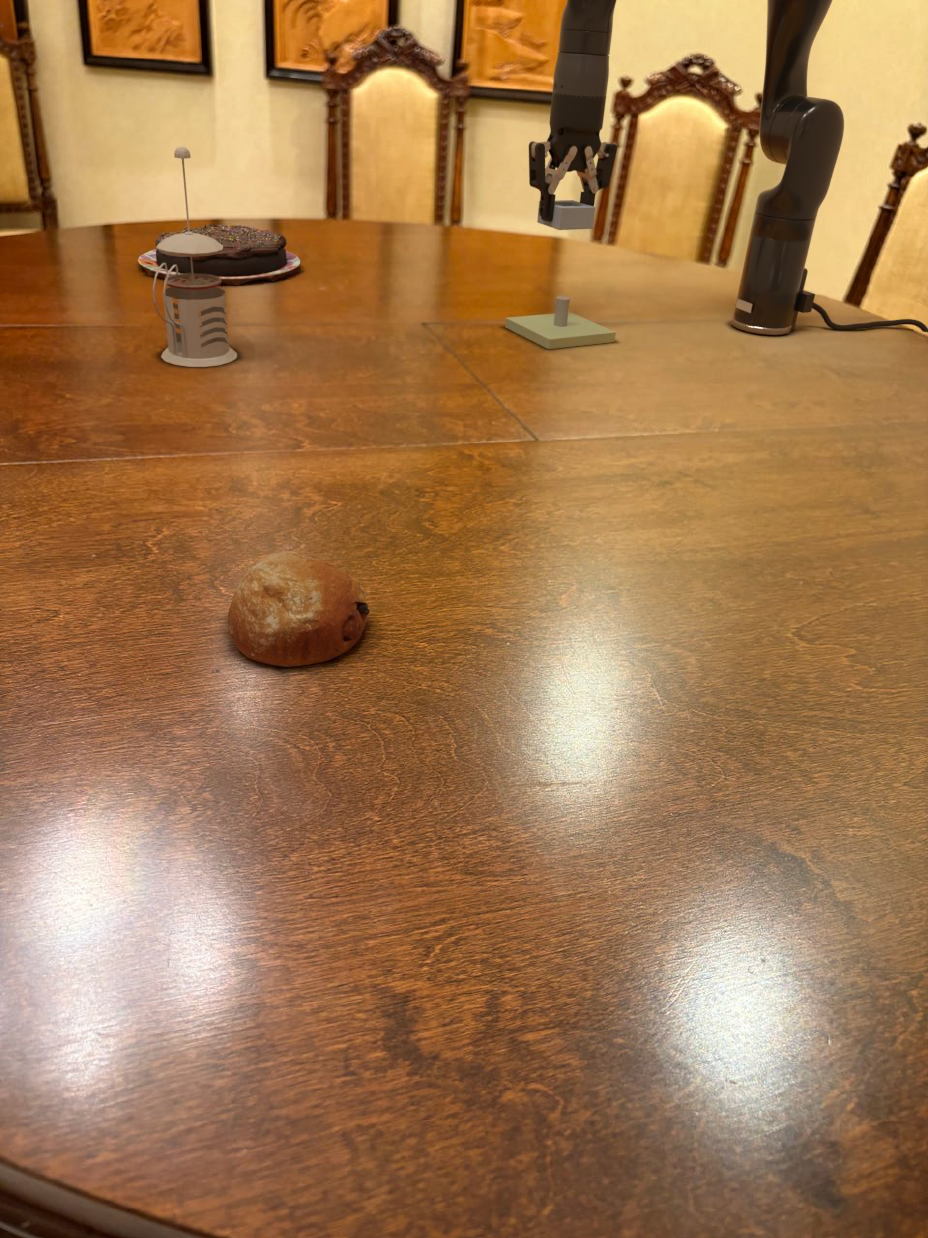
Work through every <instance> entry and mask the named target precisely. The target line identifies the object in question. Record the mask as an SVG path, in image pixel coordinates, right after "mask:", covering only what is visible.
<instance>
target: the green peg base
mask: <svg viewBox="0 0 928 1238" xmlns="http://www.w3.org/2000/svg"><path fill="white" fill-rule="evenodd" d="M570 301H571V298H570V297H568V296H563V295H560V296H559V295H558V296H556V299H555V307H554V309H555V310H554V313H553V312H552V313H543V314H534V315H533V314H532V315H523V316H510V317H505V323H504V324H505V325H504V327H505V328H506V329H507V330H509V331H511V332H512V333H513V332H514V333H515V334H517V335H518V336H521V337H523V338H525V339H527V340H529V341H531V342H533V343H535V344H537V345H539V346H540V347H542V348H545V349H546V350H555V349H556V350H557V349H564V348H575V347H584V346H590V345H591V346H592V345H601V344H611V343H615V341H616V334H617V333H616V331H614V330H611V329H610V328H607V327H604V326H603V325H601V324H598V323H596V322H593V321H591V320H589V319H587V318H584V317H582V316H580V315H578V314H576V313H573V312H571V311H570Z"/></svg>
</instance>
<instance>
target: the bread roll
mask: <svg viewBox="0 0 928 1238" xmlns="http://www.w3.org/2000/svg"><path fill="white" fill-rule="evenodd" d="M369 614H370V609H369V604H368V602H367V600H366V593H365V591H364V589H363V587H361V582H360V580H358V579H357V578H354V577H353V576H352V575H350V574H348V573H347V572H345V571H343V570H341V569H339V568H336V567H335V566H334V564H333V563H330V562H328V561H324V560H323V561H320V560H316V559H313V558H311V557H308V556H306V555H303V554H302V553H299V552H297V551H294V550H283V551H278V552H275V553H271V554H269V555H268V556H266V557H264V558H263V559H261V560H260V561H258V562H257V563H256V564H254V565H253V566H251V567H250V568H249V569H248V570H247V572H245V574H244V576H243V577H242V578H241V579H240V582H239V584H238V585H237V586H236V588H235V591H234V593H233V595H232V599H231V602H230V605H229V609H228V613H227V620H226V621H227V623H226V624H227V629H228V634H229V637H230V639H231V641H232V643H233V645H234V647H235V648H236V649H237V651H239V652H240V653H242V654H243V656H245V657H246V658H248V659H249V660H252V661H256V662H259V663H261V664H267V665H270V666H274V667H284V668H292V667H300V666H309V665H314V664H318V663H320V664H321V663H324V662H327V661H330V660H333V659H335V658H337V657H339V656H341V655H343V654H345V653H346V652H348V651H350V650H351V649H352V648H353V647H354V646H355V645H356V644H357V642H359V640H360V638H361V636H362V634H363V633H364V630H365V628H366V624H367V618H368V615H369Z"/></svg>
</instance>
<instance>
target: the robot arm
mask: <svg viewBox="0 0 928 1238" xmlns="http://www.w3.org/2000/svg"><path fill="white" fill-rule="evenodd" d="M766 2H767V3H766V4H767V5H766V6H767V10H766V13H767V14H766V41H765V64H764V65H765V66H764V75H763V76H764V77H763V85H762V87H763V88H762V94H761V105H760V115H759V128H758V129H759V130H758V131H759V133H758V135H759V143H760V148H761V151H762V153H763V154H764V156H765V157H766V158H767V159H768V160H770V161H771V162H773V163H776V164H780V165H784V166H785V167H784V171H783V174H782V177H781V179H780V182H778V183H777V185H775V186H774V187H771V188H768V189H765V190H763V191H761V192H759V194H758V196H757V199H756V203H755V207H754V213H753V218H752V223H751V228H750V234H749V239H748V243H747V247H746V253H745V256H744V257H745V258H744V263H743V266H742V272H741V278H740V281H739V287H738V291H737V296H736V301H735V307H734V311H733V315H732V318H731V325H732V327H734V328H736V329H738V330H741V331H743V332H747V333H752V334H755V335H756V334H757V335H764V336H765V335H766V336H781V335H786V334H787V335H788V334H789V333H790V332H791V331H794V330H795V327H796V323H797V319H798V315H799V313H802V314H806V313H811V312H812V309H813V310H814V311H816V312H817V313H818V314H819V315H820V316H821V318H822V319H823V322H824V324H825V325H826V326H827V327H828V328H830V329H831V330H835V331H840V332H841V331H853V330H865V329H872V328H879V327H881V328H882V327H893V326H903V325H911V326H915V327H917V328H918V329H919V330H921V331H922V332H924V333H928V326H927V325H926V324H924V323H923V322H922V321H920V320H917V319H913V318H900V319H893V320H875V321H870V322H860V323H850V324H837V323H835V322H833V321H832V320H831V318H830V316H829V314H828V313H827V311H826V309H824V308H823V306H821V305H819V304H817V302H815V296H816V294H815V293H813V292H810V291H807V290H805V286H806V280H807V277H808V273H809V272H808V271H809V270H808V269H807V268H806V263H807V258H808V254H809V250H810V246H811V242H812V237H813V233H814V228H815V224H816V220H817V216H818V212H819V209H820V207H821V205H822V204H823V202H824V201H825V199H826V196H827V194H828V191H829V189H830V185H831V182H832V180H833V179H832V178H833V174H834V171H835V167H836V165H837V161H838V157H839V154H840V150H841V147H842V143H843V138H844V133H845V132H844V131H845V118H844V117H845V116H844V112H843V110H842V108H841V106H840V105H839V104H838V103H837V102H836V101H833V100H831V99H828V98H821V97H812V96H808V69H809V62H810V61H809V59H810V56H811V55H810V54H811V50H812V46H813V43H814V42H815V39H816V37H817V35H818V32H819V30H820V28H821V27H822V24H823V22H824V20H825V18H826V16H827V14H828V13H829V10H830V7H831V6H832V3H833V0H766ZM616 4H617V0H567V1H566V3H565V6H564V8H563V11H562V16H561V20H560V28H559V38H558V39H559V40H558V52H557V56H556V62H555V67H554V72H553V73H554V74H553V80H552V81H553V83H552V92H551V103H550V104H551V105H550V113H549V127H550V128H549V130H550V133H549V135H548V138H547V139H546V141H540V142H537V141H535V140H534V141H533V140H532V141H530V142H529V144H528V179H529V182H528V183H529V186H530V187H531V188H534V189H537V190H538V191H539V193H540V198H539V201H540V208H539V207H538V209H539V214H540V216H541V219H542V220H544V221H547V222H551V221H552V220H553V214H554V206H555V201H556V194H555V192H556V190H557V188H558V186H559V184H560V182H561V181H562V180H564V178H565V176H566V174H567V173H571V172H574V171H575V172H576V174H577V176H578V177H579V179H580V180H579V181H580V184H581V188H582V190H583V191H580V196H579V202H580V203H583V204H587V205H590V206H593V207H595V202H596V201H595V200H596V195H597V193H598V191H600V190H603V189H605V190H606V189H607V188H609V185H610V181H611V176H612V172H613V169H614V164H615V160H616V155H617V151H618V146H617V144H615V143H611V142H606V141H603V142H602V141H601V137H600V132H601V131H602V129H603V127H604V118H605V112H606V111H605V110H606V103H607V93H608V86H609V75H610V55H611V54H610V53H611V44H612V37H613V29H614V28H613V26H614V14H615V9H616ZM548 153H549V154H548ZM596 155H597V161H596V163H595V157H596ZM548 156H550V158H549V160H548V163H547V164H546V158H547V157H548Z"/></svg>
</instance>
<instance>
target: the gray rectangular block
mask: <svg viewBox="0 0 928 1238" xmlns="http://www.w3.org/2000/svg"><path fill="white" fill-rule="evenodd" d="M539 208H540V200H539V201H538V209H537V221H536V223H538V224H540V225H544V226H546V227H549V228H553V229H554V230H557V231H570V230H571V231H572V230H574V231H575V230H593V229H594V223H595V215H596V206H594V207H593V206H590V205H587V204H583V203H580V201H576V200H573V199H570V200H569V199H568V200H567V199H566V200H565V199H564V200H555V206H554V214H553V220H552V221H551V222H547V221H544V220H542V219H541V216H540V214H539Z"/></svg>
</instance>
